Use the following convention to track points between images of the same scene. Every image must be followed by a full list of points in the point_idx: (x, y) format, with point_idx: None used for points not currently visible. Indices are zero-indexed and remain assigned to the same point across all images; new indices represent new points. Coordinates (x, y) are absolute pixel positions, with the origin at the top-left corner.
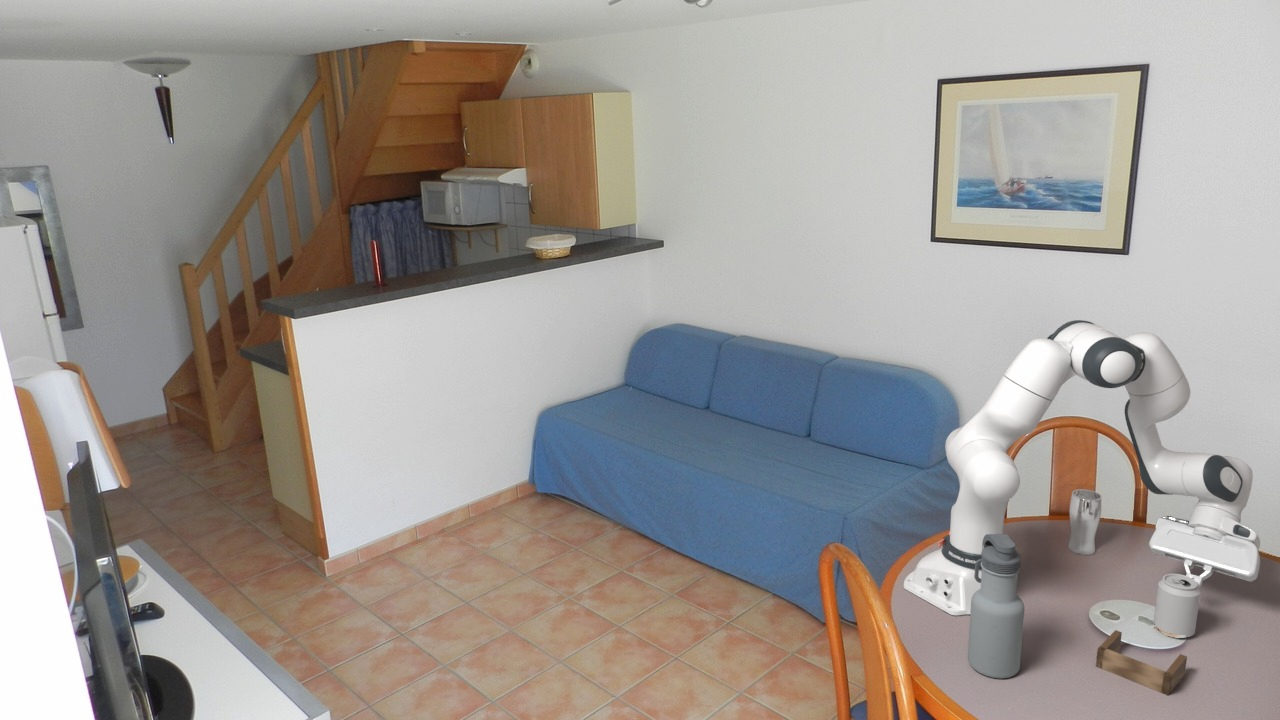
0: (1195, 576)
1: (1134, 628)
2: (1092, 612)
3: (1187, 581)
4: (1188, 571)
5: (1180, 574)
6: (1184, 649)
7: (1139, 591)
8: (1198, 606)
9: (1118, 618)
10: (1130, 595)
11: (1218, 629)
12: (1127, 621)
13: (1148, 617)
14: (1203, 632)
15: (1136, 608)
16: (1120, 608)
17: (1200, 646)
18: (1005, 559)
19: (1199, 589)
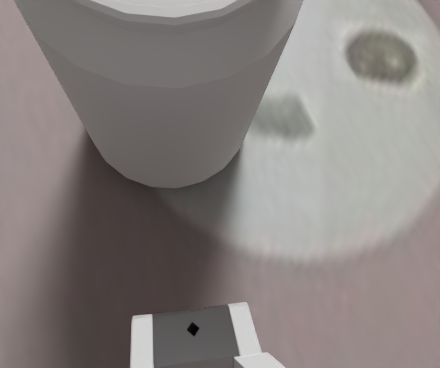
0: (185, 354)
1: None
2: (425, 31)
3: (157, 88)
4: (257, 366)
5: (211, 6)
6: None
7: (426, 342)
8: (54, 72)
9: (348, 57)
10: (426, 270)
11: (35, 275)
12: (316, 60)
13: (282, 146)
14: (76, 197)
15: (349, 179)
16: (386, 132)
17: (48, 82)
18: None
19: (25, 8)
